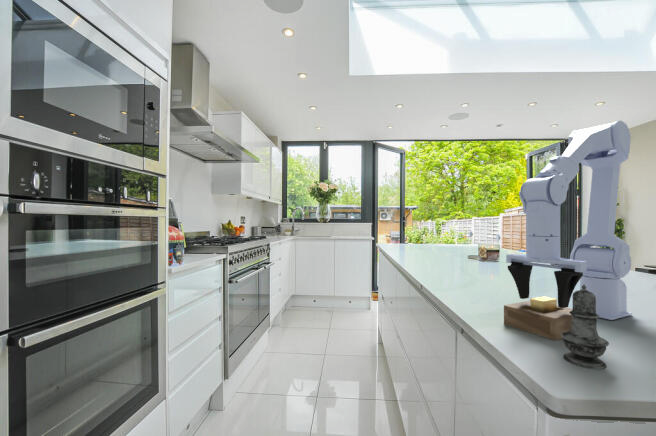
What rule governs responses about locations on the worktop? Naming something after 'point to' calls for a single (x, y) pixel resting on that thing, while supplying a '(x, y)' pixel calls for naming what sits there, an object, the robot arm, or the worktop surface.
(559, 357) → the worktop surface
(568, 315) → the walnut box
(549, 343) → the worktop surface
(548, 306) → the block
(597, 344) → the salt shaker
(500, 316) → the worktop surface
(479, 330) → the worktop surface
